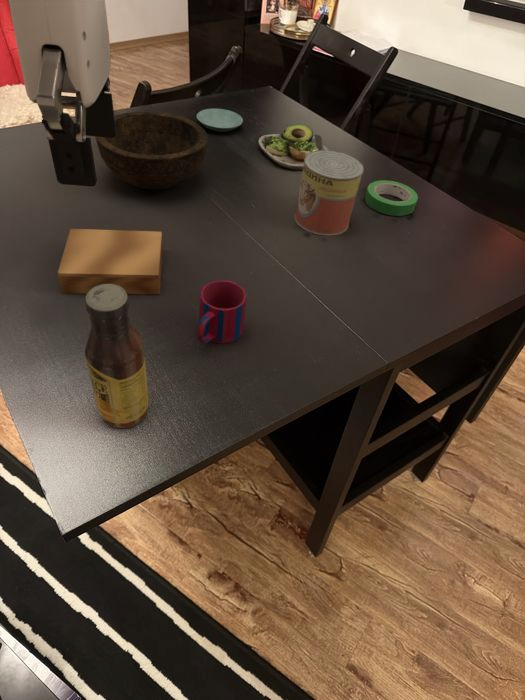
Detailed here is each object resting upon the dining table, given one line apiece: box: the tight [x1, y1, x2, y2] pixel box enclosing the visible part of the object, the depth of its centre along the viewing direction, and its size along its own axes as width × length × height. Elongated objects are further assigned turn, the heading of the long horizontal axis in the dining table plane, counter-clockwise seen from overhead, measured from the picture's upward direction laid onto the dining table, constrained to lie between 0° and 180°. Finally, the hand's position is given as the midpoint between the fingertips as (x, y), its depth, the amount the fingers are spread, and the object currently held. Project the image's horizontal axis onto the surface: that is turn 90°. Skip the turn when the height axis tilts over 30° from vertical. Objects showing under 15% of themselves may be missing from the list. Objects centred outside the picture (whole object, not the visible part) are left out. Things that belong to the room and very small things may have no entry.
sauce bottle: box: [84, 284, 149, 429], centre depth 54 cm, size 6×6×20 cm
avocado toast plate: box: [257, 123, 329, 171], centre depth 115 cm, size 19×18×5 cm
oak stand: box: [57, 228, 164, 295], centre depth 79 cm, size 15×12×4 cm
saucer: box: [196, 108, 244, 133], centre depth 123 cm, size 12×12×2 cm
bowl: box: [94, 110, 209, 190], centre depth 98 cm, size 22×22×10 cm
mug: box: [196, 279, 248, 344], centre depth 70 cm, size 7×10×7 cm
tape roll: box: [364, 179, 419, 217], centre depth 105 cm, size 11×11×3 cm
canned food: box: [294, 149, 365, 237], centre depth 94 cm, size 11×11×12 cm
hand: (89, 157), depth 44 cm, fingers open, 9 cm apart
